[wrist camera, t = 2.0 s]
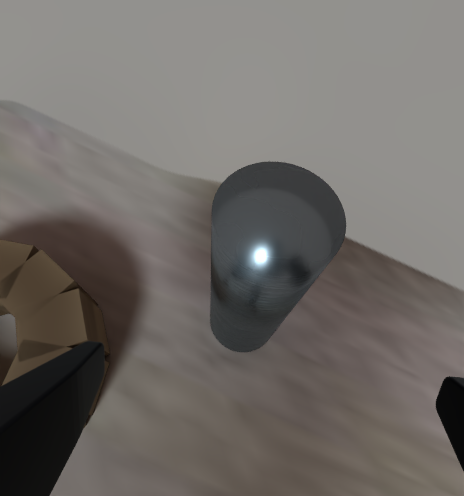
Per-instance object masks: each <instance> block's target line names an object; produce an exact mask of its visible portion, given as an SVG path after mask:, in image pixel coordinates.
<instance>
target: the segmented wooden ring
mask: <svg viewBox="0 0 464 496" xmlns="http://www.w3.org/2000/svg"><path fill="white" fill-rule="evenodd" d="M97 305H98V304H97V303H96V302H95V301H94V300H93V299H92V298H91V297H90V296H89V295H88V294H87V293H86V292H85V291H84V290H83V289H82V288H81V287H80V286H79V285H78V284H77V283H76V282H75V281H74V280H73V279H72V278H71V277H70V276H69V275H68V274H67V273H66V272H65V271H64V270H62V269H61V268H60V267H59V266H58V265H57V264H56V263H55V262H54V261H53V260H52V259H51V258H50V257H49V256H48V255H47V254H46V253H45V252H44V251H42V250H40V251H39V250H38V249H37V248H35V247H34V246H33V245H27V244H22V243H16V242H11V241H5V240H0V316H1V315H5V314H8V313H9V314H12V315H13V316H14V317H15V322H16V334H17V347H18V351H17V354H16V356H15V358H14V360H13V362H12V364H11V367H10V369H9V371H8V373H7V375H6V377H5V380H4V382H3V384H2V385H4V384H6V383H8V382H10V381H12V380H14V379H15V378H17V377H19V376H21V375H23V374H25V373H27V372H29V371H31V370H33V369H34V368H36V367H38V366H40V365H42V364H44V363H46V362H48V361H50V360H52V359H53V358H55V357H57V356H59V355H61V354H63V353H65V352H67V351H69V350H70V349H72V348H74V347H76V346H78V345H80V344H82V343H84V342H86V341H95V342H102V343H103V344H104V353H105V355H108V354H110V351H109V346H108V341H107V336H106V331H105V326H104V321H103V316H102V311H101V310H100V309H99V308H98V307H97ZM108 366H109V362H107V361H105V372H104V376H103V380H102V382H101V385H100V387H99V390H98V392H97V395H96V397H95V400H94V402H93V405H92V408H91V410H90V413H89V415H92V414H93V411H94V408H95V405H96V402H97V399H98V396H99V393H100V390H101V387H102V384H103V381H104V378H105V375H106V372H107V369H108ZM85 426H86V424H85V425H84V427H85Z"/></svg>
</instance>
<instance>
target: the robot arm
mask: <svg viewBox="0 0 464 496" xmlns="http://www.w3.org/2000/svg"><path fill="white" fill-rule="evenodd" d="M104 372H105V353H104V344H103V343H102V342H95V341H86V342H84V343H82V344H80V345H78V346H76V347H74V348H72V349H70V350H69V351H67V352H65V353H63V354H61V355H59V356H57V357H55V358H53V359H52V360H50V361H48V362H46V363H44V364H42V365H40V366H38V367H36V368H34V369H33V370H31V371H29V372H27V373H25V374H23V375H21V376H19V377H17V378H15V379H14V380H12V381H10V382H8V383H6V384H4V385H2V386H0V496H49V495H50V494H51V492H52V490H53V488H54V486H55V484H56V482H57V480H58V478H59V476H60V474H61V472H62V470H63V468H64V467H65V465H66V463H67V461H68V459H69V457H70V455H71V453H72V451H73V449H74V447H75V445H76V443H77V441H78V439H79V437H80V435H81V433H82V430H83V428H84V425H85V423H86V420H87V418H88V415H89V413H90V410H91V408H92V405H93V402H94V400H95V397H96V395H97V392H98V390H99V387H100V385H101V382H102V380H103V376H104ZM436 410H437V413H438V415H439V417H440V419H441V422H442V424H443V426H444V429H445V431H446V433H447V435H448V438H449V440H450V442H451V444H452V447H453V449H454V451H455V453H456V456H457V458H458V460H459V462H460V465H461V467H462V469H463V471H464V378H460V377H450V376H449V377H446V378H445V379H444V381H443V383H442V386H441V388H440V391H439V394H438V396H437V399H436Z"/></svg>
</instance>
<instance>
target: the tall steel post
mask: <svg viewBox="0 0 464 496" xmlns="http://www.w3.org/2000/svg"><path fill="white" fill-rule="evenodd" d="M345 232H346V218H345V213H344V210H343V207H342V204H341V202H340V200H339V198H338V196H337V195H336V194H335V192H334V191H333V190H332V188H331V187H330V186H329V185H328V184H327V183H326V182H325V181H323V180H322V179H321V178H320V177H318V176H317V175H315V174H314V173H312V172H310V171H308V170H306V169H304V168H302V167H299V166H296V165H293V164H288V163H282V162H261V163H256V164H252V165H248V166H246V167H243V168H241V169H239V170H237V171H236V172H234V173H233V174H231V175H230V176H229V177H228V178H227V179H226V180H225V181H224V182H223V183H222V184H221V186H220V187H219V189H218V190H217V192H216V194H215V197H214V200H213V205H212V234H211V304H210V323H211V328H212V331H213V334H214V335H215V337H216V339H217V340H218V341H219V342H220V343H221V344H222V345H223V346H225V347H226V348H228V349H230V350H232V351H236V352H251V351H254V350H256V349H258V348H260V347H262V346H263V345H264V344H265V343H266V342H267V341H268V340H269V338H270V337H271V336H272V335H273V333H274V332H275V331H276V329H277V328H278V327H279V326H280V324H281V323H282V322H283V321H284V319H285V318H286V317H287V316H288V314H289V313H290V312H291V310H292V309H293V308H294V307H295V305H296V304H297V303H298V302H299V300H300V299H301V298H302V297H303V295H304V294H305V293H306V291H307V290H308V289H309V288H310V286H311V285H312V284H313V283H314V281H315V280H316V279H317V278H318V276H319V275H320V274H321V273H322V271H323V270H324V269H325V267H326V266H327V265H328V264H329V262H330V261H331V260H332V259H333V257H334V256H335V255H336V254H337V252H338V250H339V249H340V247H341V245H342V243H343V240H344V237H345Z"/></svg>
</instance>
